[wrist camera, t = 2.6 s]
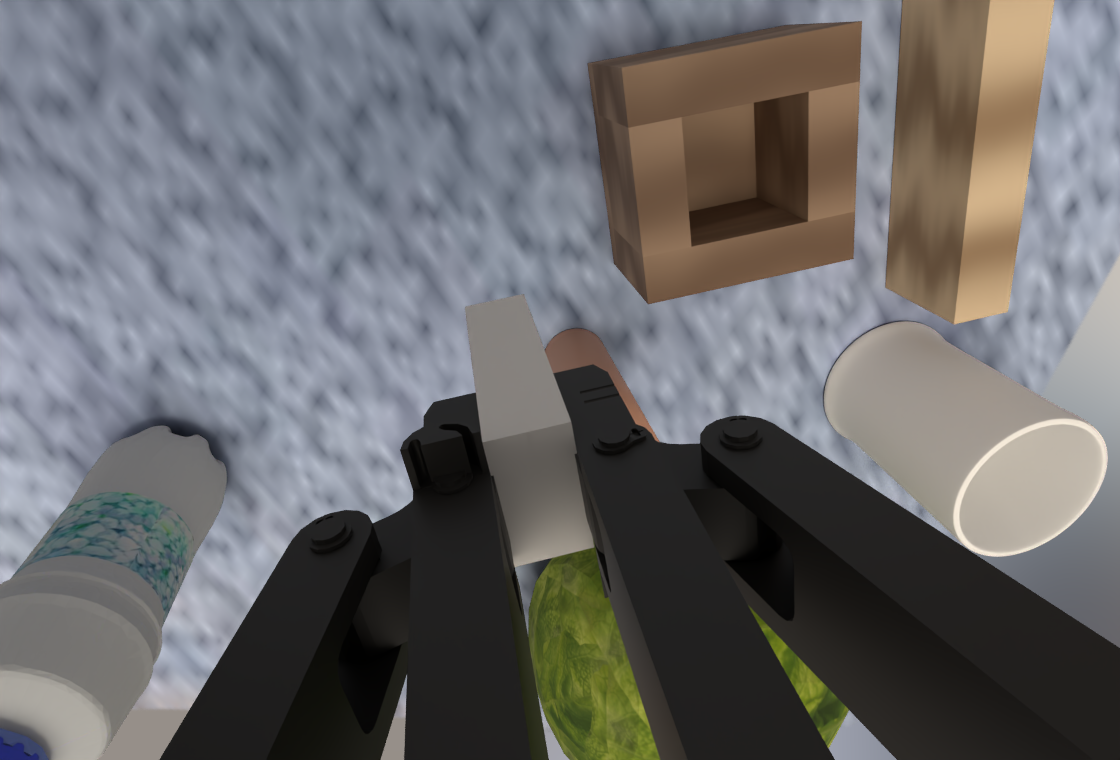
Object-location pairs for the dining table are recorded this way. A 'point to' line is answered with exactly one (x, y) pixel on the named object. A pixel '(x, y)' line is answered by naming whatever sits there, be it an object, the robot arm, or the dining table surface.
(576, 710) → the lettuce
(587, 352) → the dowel
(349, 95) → the dining table surface
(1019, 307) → the dining table surface
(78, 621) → the bottle
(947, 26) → the backstop
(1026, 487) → the mug
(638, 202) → the block
